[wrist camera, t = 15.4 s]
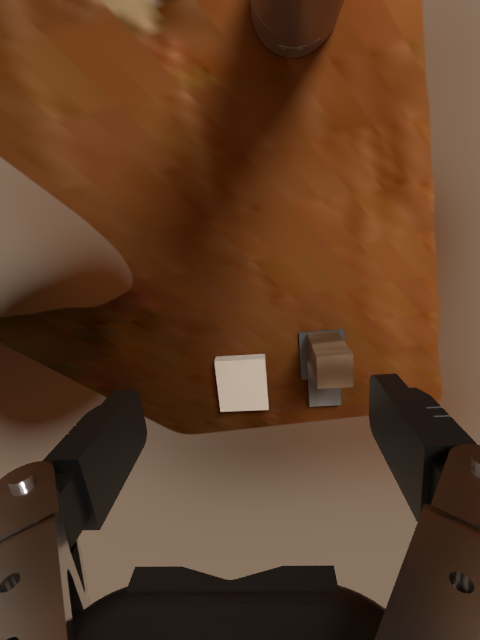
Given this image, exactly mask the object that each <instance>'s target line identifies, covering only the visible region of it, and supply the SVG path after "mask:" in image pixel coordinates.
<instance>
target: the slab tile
mask: <svg viewBox="0 0 480 640" xmlns="http://www.w3.org/2000/svg"><path fill="white" fill-rule="evenodd" d="M214 364H215V372H216V380H217V388H218V396H219V404H220V412H231V411H255V410H269V403H268V390H267V376H266V363H265V354H256V355H238V356H220V357H216V358H215V361H214Z"/></svg>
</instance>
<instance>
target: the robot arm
mask: <svg viewBox="0 0 480 640" xmlns="http://www.w3.org/2000/svg"><path fill="white" fill-rule="evenodd" d="M343 2H344V0H250V3H251V17H252V21H253V25H254V29H255V31H256V33H257V35H258V38H259V39H260V40H261V42H262V43H263V44H264V46H266V47H267V48H268V49H269V50H270V51H271V52H273V53H275V54H277V55H279V56H282V57H287V58H298V57H301V56H305V55H307V54H309V53H311V52H313V51H315V50H316V49H317V48H318V47H320V46H321V45H322V44H323V43H324V42H325V40H326V39H327V38H328V37H329V35H330V34H331V32H332V30H333V28H334V26H335V24H336V21H337V18H338V16H339V13H340V10H341V7H342V5H343ZM369 420H370V427H371V431H372V434H373V436H374V438H375V440H376V442H377V444H378V446H379V448H380V450H381V452H382V454H383V456H384V458H385V460H386V461H387V464H388V466H389V468H390V470H391V472H392V473H393V475H394V477H395V479H396V481H397V483H398V485H399V487H400V489H401V491H402V493H403V495H404V497H405V499H406V501H407V503H408V505H409V507H410V509H411V511H412V512H413V515H414V517H415V518H416V521H417V522H418V523H417V525H416V528H415V531H414V534H413V536H412V539H411V542H410V544H409V547H408V550H407V553H406V555H405V558H404V561H403V564H402V566H401V569H400V572H399V574H398V577H397V580H396V583H395V585H394V588H393V591H392V593H391V596H390V599H389V602H388V605H387V607H386V609H385V608H383V607H382V606H380V605H379V604H377V603H376V602H374V601H373V600H371V599H369V598H368V597H366V596H364V595H362V594H360V593H358V592H355V591H353V590H351V589H348V588H345V587H342V586H339V585H337V580H336V575H335V570H334V566H281V567H277V568H274V569H271V570H267V571H263V572H260V573H256V574H253V575H250V576H246V577H242V578H239V579H235V580H225V579H222V578H218V577H215V576H212V575H208V574H205V573H202V572H198V571H195V570H191V569H188V568H184V567H135V569H134V572H133V575H132V577H131V580H130V583H129V585H128V587H125V588H122V589H120V590H117V591H115V592H112V593H111V594H109V595H106V596H105V597H103V598H101V599H99V600H98V601H96V602H94V603H93V604H92V605H90V600H89V595H88V589H87V583H86V577H85V572H84V566H83V561H82V555H81V550H80V545H79V542H78V537H79V535H80V533H81V532H82V530H100V528H101V527H102V525H103V523H104V521H105V519H106V517H107V515H108V513H109V511H110V510H111V508H112V506H113V504H114V502H115V500H116V498H117V496H118V495H119V493H120V491H121V489H122V487H123V485H124V483H125V481H126V479H127V478H128V476H129V474H130V472H131V470H132V468H133V466H134V464H135V462H136V461H137V459H138V457H139V455H140V453H141V451H142V449H143V447H144V445H145V442H146V437H147V428H146V423H145V418H144V414H143V409H142V405H141V400H140V396H139V393H138V391H137V390H136V389H130V390H115V391H113V392H112V393H111V394H110V395H109V396H108V397H107V398H106V400H105V401H104V402H103V403H102V404H101V405H99V406H97V407H96V408H94V409H93V410H91V411H90V412H88V413H86V414H85V415H84V416H83V418H81V420H80V421H79V422H78V423H77V424H76V426H74V427H73V428H72V429H71V431H70V432H69V434H67V435H66V436H65V437H64V438H63V439H62V440H61V441H60V443H58V445H57V446H56V447H55V448H54V449H53V450H52V451H51V452H50V453H49V454H48V455H47V457H46V458H45V459H44V460H43V461H39V462H33V463H29V464H26V465H23V466H21V467H19V468H17V469H15V470H13V471H11V472H10V473H8V474H7V475H5V476H4V477H3V478H1V479H0V640H480V445H477V444H476V442H475V441H474V440H473V439H472V438H471V437H470V436H469V435H468V434H467V433H466V432H465V431H464V430H463V429H462V428H461V427H460V426H459V425H458V424H457V423H456V422H455V421H454V420H453V418H451V417H449V415H448V413H447V412H446V411H445V410H444V409H443V408H441V407H440V405H439V404H438V403H437V402H436V401H435V400H434V399H433V398H432V397H431V396H430V395H428V394H427V393H425V392H423V391H421V390H419V389H417V388H408V386H407V385H406V384H405V383H404V382H403V381H402V380H401V378H400V377H399V376H398V375H397V374H380V375H371V377H370V392H369Z"/></svg>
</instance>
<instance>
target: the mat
mask: <svg viewBox="0 0 480 640" xmlns="http://www.w3.org/2000/svg"><path fill="white" fill-rule="evenodd" d="M328 331H338V333H339V334H340V336H341V337H342V339H343V340H344V329H339V330H326V331H313V332H300V333H299V348H300V366H301V380H308V372H307V360H308V342H307V333H315V332H328Z"/></svg>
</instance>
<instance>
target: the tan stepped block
mask: <svg viewBox="0 0 480 640" xmlns="http://www.w3.org/2000/svg"><path fill="white" fill-rule="evenodd" d="M307 342H308V360H307V372H308V393H309V406H310V407H314V406H333V405H341V388H343V387H353V353H352V352H351V350H350V349H349V347H348V346H347V344H346V343H345V342H344V340H343V339H342V337H341V336H340V334H339V333H338V331H328V332H315V333H307Z"/></svg>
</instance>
